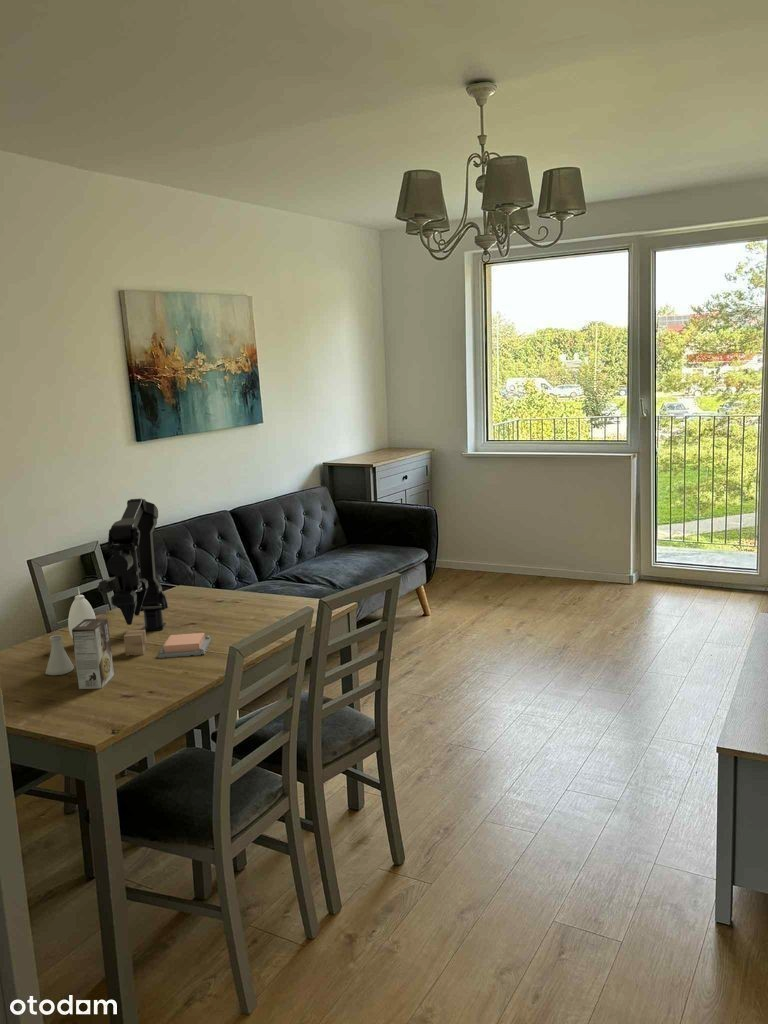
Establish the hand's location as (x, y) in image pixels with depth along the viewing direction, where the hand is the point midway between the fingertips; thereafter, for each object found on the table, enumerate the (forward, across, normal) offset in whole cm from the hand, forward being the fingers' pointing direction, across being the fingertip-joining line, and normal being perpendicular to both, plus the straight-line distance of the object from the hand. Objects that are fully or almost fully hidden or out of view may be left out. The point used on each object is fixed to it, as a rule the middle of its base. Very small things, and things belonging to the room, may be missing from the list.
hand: (133, 620), depth 236 cm
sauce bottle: (+10, -11, -18) cm, 23 cm away
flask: (+10, +12, -18) cm, 24 cm away
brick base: (+10, 0, +14) cm, 17 cm away
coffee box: (+10, +23, -5) cm, 26 cm away
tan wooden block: (+10, 0, 0) cm, 10 cm away
